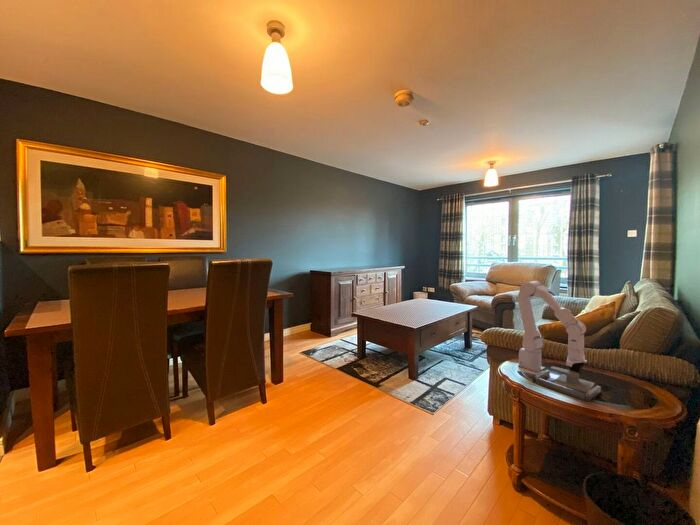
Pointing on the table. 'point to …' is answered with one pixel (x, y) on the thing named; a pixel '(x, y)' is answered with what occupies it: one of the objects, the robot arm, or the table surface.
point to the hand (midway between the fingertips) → (575, 377)
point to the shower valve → (572, 380)
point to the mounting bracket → (583, 396)
